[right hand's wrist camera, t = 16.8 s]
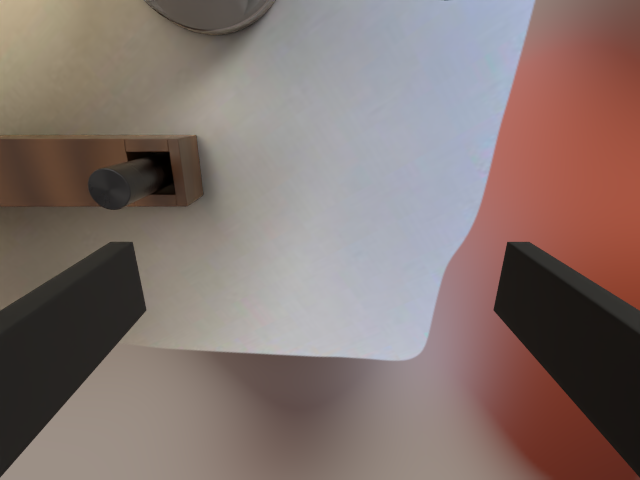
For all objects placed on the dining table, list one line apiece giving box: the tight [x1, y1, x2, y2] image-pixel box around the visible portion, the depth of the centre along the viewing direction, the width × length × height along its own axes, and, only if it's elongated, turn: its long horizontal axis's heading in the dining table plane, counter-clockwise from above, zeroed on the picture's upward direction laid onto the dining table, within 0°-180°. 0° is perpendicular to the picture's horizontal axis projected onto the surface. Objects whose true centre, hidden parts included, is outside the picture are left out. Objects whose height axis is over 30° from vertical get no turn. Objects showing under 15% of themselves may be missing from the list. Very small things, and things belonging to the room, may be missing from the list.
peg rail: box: [0, 135, 203, 206], centre depth 35 cm, size 26×6×5 cm, turn 90°
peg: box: [88, 152, 174, 210], centre depth 32 cm, size 3×3×12 cm
